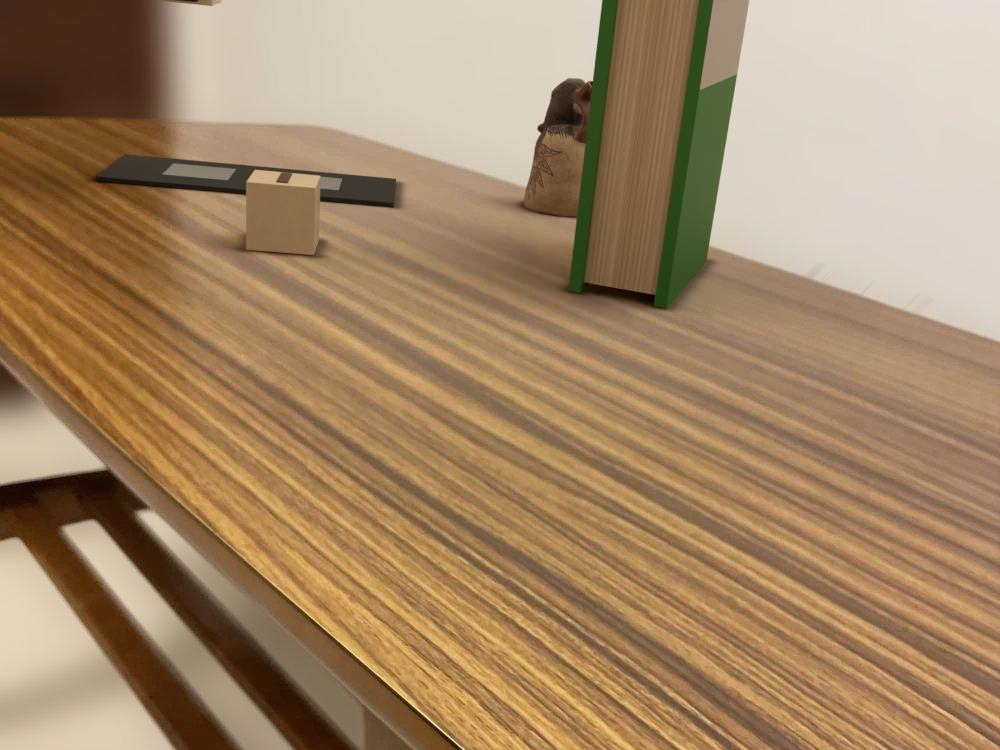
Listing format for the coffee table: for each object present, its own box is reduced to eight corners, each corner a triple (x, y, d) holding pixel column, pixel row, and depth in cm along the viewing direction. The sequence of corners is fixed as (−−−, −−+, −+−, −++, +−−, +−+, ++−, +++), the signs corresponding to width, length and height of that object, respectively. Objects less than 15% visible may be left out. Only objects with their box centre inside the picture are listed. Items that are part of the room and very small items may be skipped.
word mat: (95, 180, 108) (95, 175, 108) (125, 158, 119) (125, 153, 119) (393, 207, 111) (393, 201, 111) (395, 182, 122) (396, 177, 122)
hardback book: (666, 308, 89) (722, -59, 79) (568, 290, 91) (610, -71, 80) (706, 261, 105) (757, -51, 94) (622, 246, 106) (663, -62, 96)
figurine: (572, 200, 123) (587, 73, 118) (612, 216, 118) (629, 84, 113) (511, 201, 119) (523, 70, 114) (550, 218, 114) (564, 81, 109)
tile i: (246, 250, 92) (246, 180, 90) (254, 235, 96) (254, 168, 94) (314, 255, 92) (315, 186, 90) (319, 240, 97) (320, 174, 95)
